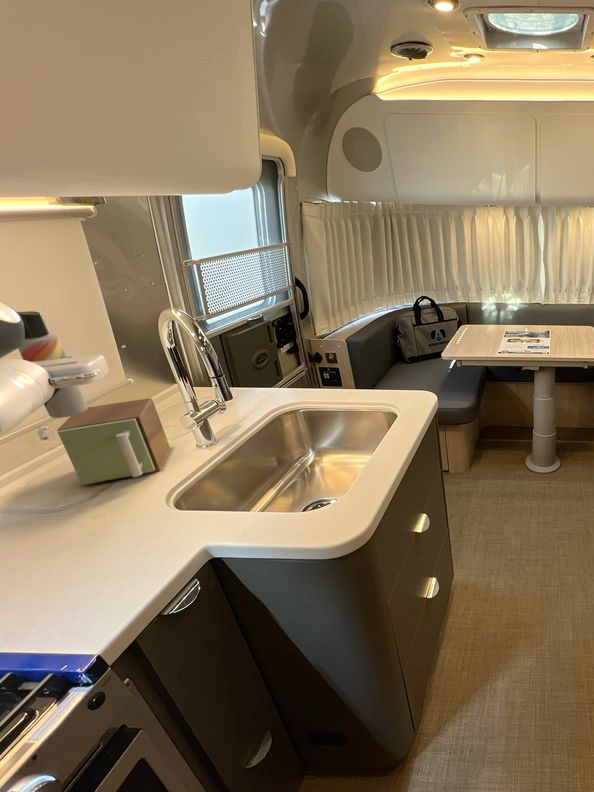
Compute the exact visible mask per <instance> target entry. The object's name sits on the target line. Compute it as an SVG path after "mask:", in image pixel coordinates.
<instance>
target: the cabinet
mask: <svg viewBox="0 0 594 792" xmlns="http://www.w3.org/2000/svg"><path fill="white" fill-rule="evenodd" d="M87 407H88V408H87V410H86V411H84V412H82V413H80V414H77V415H73V416H69V417H67V419H66V420H65V421H64V422H63V423H62V424H61V425H60V426H59V427H58V428H57V432H58V431H59V430H65V429H71V428H77V427H84V426H90V425H96V424H103V423H109V422H115V421H122V420H128V419H134V418H136V421H137V423H138V426H139V428H140V431H141V434H142V436H143V439H144V441H145V444H146V446H147V449H148V452H149V454H150V457H151V459H152V462H153V464H154V467H155V471H152V472H147V473H142V475H143V476H144V475H147V474H152V473H158V472H160V471H161V470H162V467H163V465H164V463H165V461H166V459H167V457H168V455H169V453H170V450H171V446H170V444H169V441H168V438H167V436H166V433H165V430H164V427H163V424H162V422H161V418H160V417H159V413H158V410H157V408H156V406H155V403H154V400H153V398H152V397H150V398H149V397H148V398H143V399H135V400H129V401H122V402H114V403H107V404H100V405H94V406H87ZM142 475H141V476H142ZM127 478H133V477H132V475H131V476H126V477H121V478H116V479H111V480H105V481H100V482H95V483H90V484H85V485H82V486H83V487H86V486H91V485H97V484H102V483H106V482H111V481H116V480H121V479H127Z"/></svg>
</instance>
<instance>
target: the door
mask: <svg viewBox="0 0 594 792" xmlns="http://www.w3.org/2000/svg"><path fill="white" fill-rule="evenodd" d="M57 434H58V436H59V438H60V441H61V443H62V444H63V447H64V449H65V451H66V453H67V455H68V458H69V459H70V462H71V464H72V466H73V468H74V470H75V473H76V475H77V477H78V479H79V481H80V484H81V485H82V486H83V485H85V484H90V483H95V482H100V481H105V480H111V479H116V478H121V477H126V476H131V475H132V477H131V478H137V477H141V476H142V473H147V472H152V471H155V467H154V464H153V462H152V459H151V457H150V454H149V452H148V449H147V446H146V444H145V441H144V439H143V436H142V434H141V431H140V428H139V426H138V423H137V421H136V418H134V419H128V420H122V421H115V422H109V423H103V424H96V425H90V426H84V427H77V428H71V429H65V430H59V431H58V430H57Z"/></svg>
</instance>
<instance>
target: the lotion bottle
mask: <svg viewBox="0 0 594 792" xmlns="http://www.w3.org/2000/svg"><path fill="white" fill-rule="evenodd" d="M16 312H17V313H18V314H19V315H20V316H21V318H22V320H23V324H24V330H25V338H24V344H23V345H22V346H21V347H20V348H18V349H17V350H18V351H19V353H20V357H21V358H22V360H26V361H30V362H36V361H46V360H55V359H64V358H66V357H68V356H67V354H66V351H65V350H64V347H63V344H62V343H61V342H62V341H60V338H59V336H58V334H55V333H50V331H49V329H48V326H47V325H46V322H45V320H44V318H43V315H42V313H41V312H39V311H33V310H32V311H30V310H29V311H16ZM43 406H44V407H45V410H46V411H47V414H48V416H49V417H50V418H53V419H63V418H69V417H70V416H73V415H77V414H80V413H82V412H84V411H86V410H87V408H88V407H89V406H88V404H87V401H86V398H85V397H84V394H83V392H82V389H81V387H80V385H78V386H71V387H63V388H55V389H54V393H53V395H52V397H51V398H50V399H49V400H48V401H47V402H46V403H45V404H43Z"/></svg>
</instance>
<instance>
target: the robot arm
mask: <svg viewBox="0 0 594 792" xmlns="http://www.w3.org/2000/svg"><path fill="white" fill-rule="evenodd" d="M17 312H18V311H17V310H15V309H13V307H11V306H10V305H8V304H6V303H5V302H3V301H1V300H0V437H3V436H4V435H6V434H8V433H10V432H11V431H12V430H14V429H16V428H17V427H18V426H20V425H21V424H22V423H23V422H24V421H25V420H27V418H28V417H29V416H31V415H32V414H34V413H35V412H36V411H37V410H39V409H40V408H41V407H42V406H44V404H45V403H46V402H47V401H48V400H49V399H50V398H51V397H52V395H53V393H54V389H55V388H63V387H71V386H78V385H79V386H84V385H88V384H92V383H94V382H97V381H99V380H100V379H102V378H104V377H105V376H106V375H108V373H110V372H109V371H110V369H109V366H108V362H107V359H106V358H105V357H104V356H103V355H101V354H91V355H84V356H77V355H73V356H72V355H71V356H67V357H66V358H64V359H55V360H46V361H36V362H30V361H26V360H23V359H20V358H5V359H3V358H4V357H6V356H7V355H9V354H11V353H13V352H14V351H16V350H19V349H18V348H20V347H21V346H22V345H23V344H24V338H25V330H24V324H23V320H22V318H21V316H20V315H19V314H18V313H17Z"/></svg>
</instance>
